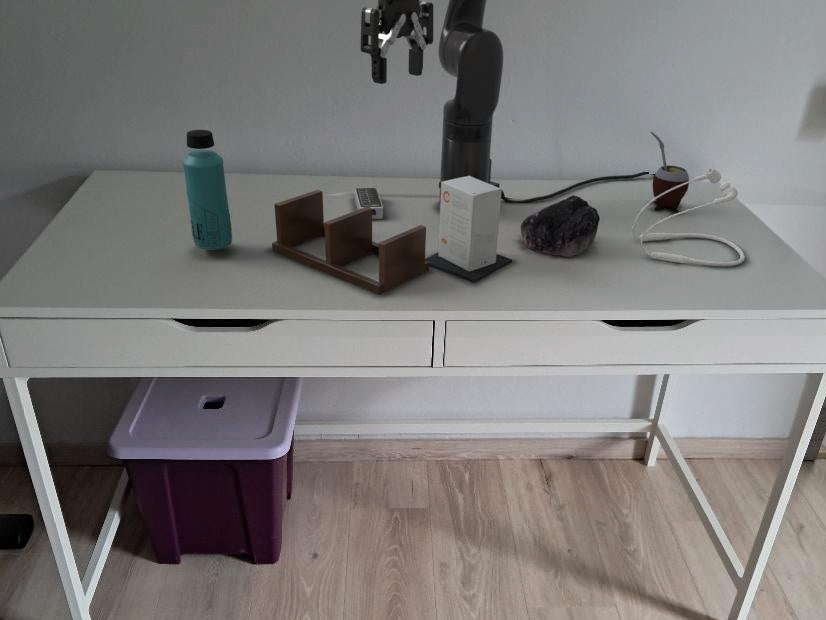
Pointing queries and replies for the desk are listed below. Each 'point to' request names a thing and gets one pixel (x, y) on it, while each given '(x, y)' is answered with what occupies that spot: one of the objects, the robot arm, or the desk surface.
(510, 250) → the desk surface
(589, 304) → the desk surface
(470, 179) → the small box
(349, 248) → the rack
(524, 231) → the crystal cluster
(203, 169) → the beverage bottle
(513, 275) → the desk surface
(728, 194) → the earphone
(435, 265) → the mat
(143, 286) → the desk surface
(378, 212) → the multiport hub
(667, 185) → the mate gourd
